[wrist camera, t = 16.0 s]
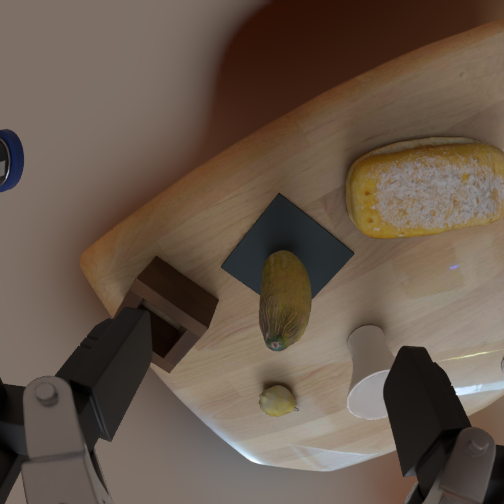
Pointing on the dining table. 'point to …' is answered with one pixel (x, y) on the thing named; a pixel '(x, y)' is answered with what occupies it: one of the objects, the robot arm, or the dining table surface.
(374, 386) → the cup
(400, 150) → the bread
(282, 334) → the vegetable
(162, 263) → the holder
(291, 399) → the fruit
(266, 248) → the mat
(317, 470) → the dining table surface
